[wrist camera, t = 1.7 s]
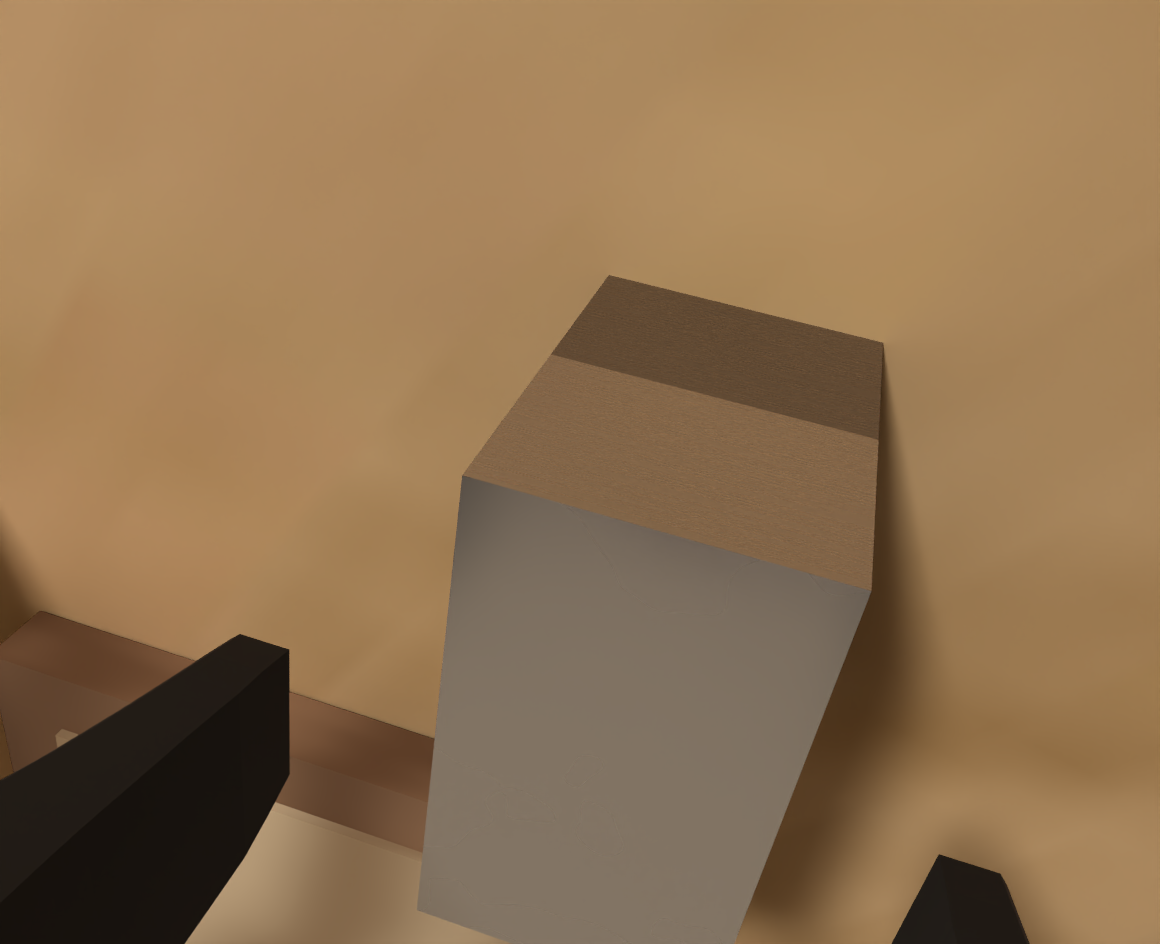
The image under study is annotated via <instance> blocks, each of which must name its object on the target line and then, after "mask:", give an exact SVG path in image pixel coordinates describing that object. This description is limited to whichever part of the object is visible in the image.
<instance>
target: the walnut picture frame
mask: <svg viewBox="0 0 1160 944" xmlns="http://www.w3.org/2000/svg"><path fill="white" fill-rule="evenodd" d="M194 662H195V661H193V660H190V659H187V658H184V657H181V656H177V655H174V654H171V653H168V652H165V651H162V650H159V649H156V648H153V647H150V646H147V645H144V644H141V643H138V642H134V641H131V640H128V639H125V638H122V637H119V636H116V635H113V634H110V633H107V632H104V631H101V630H98V629H95V628H92V627H88V626H85V625H82V624H79V623H76V622H73V621H70V620H67V619H64V618H61V617H58V616H55V615H52V614H49V613H45V612H42V611H39V612H38V613H37V614H36V615H35V616H33V617H32V618H31V619H30V620H29V621H27V622H26V623H25V624H24V625H23V626H22V627H20V628H19V629H18V630H17V631H16V632H15V633H13V634H12V635H11V636H10V637H9V638H8V639H6V640H5V641H4V642H3V643H2V644H1V645H0V712H1V716H2V721H3V726H4V730H5V735H6V740H7V744H8V749H9V754H10V758H11V763H12V767H13V772H16V771H18V770H20V769H21V768H23V767H25V766H27V765H29V764H30V763H32V762H34V761H36V760H37V759H39V758H41V757H43V756H44V755H46V754H48V753H49V752H51V751H53V750H55V749H56V748H58V747H60V746H61V745H63V744H64V743H66V742H68V741H69V740H71V739H73V738H74V737H76V736H78V735H79V734H81V733H83V732H84V731H86V730H87V729H89V728H91V727H92V726H94V725H96V724H97V723H99V722H101V721H102V720H104V719H106V718H107V717H109V716H110V715H112V714H114V713H115V712H117V711H119V710H120V709H122V708H123V707H125V706H127V705H128V704H130V703H131V702H133V701H135V700H136V699H138V698H139V697H141V696H142V695H144V694H146V693H147V692H149V691H150V690H152V689H153V688H155V687H157V686H158V685H160V684H161V683H163V682H164V681H166V680H167V679H169V678H171V677H172V676H174V675H175V674H177V673H178V672H180V671H181V670H183V669H185V668H186V667H188V666H189V665H191V664H192V663H194ZM289 714H290V775H289V777H288V779H287V780H286V782H285V784H284V786H283V788H282V790H281V792H280V794H279V796H278V798H277V800H276V801H275V803H274V805H273V807H272V809H271V811H270V813H269V815H268V817H267V819H266V820H265V822H264V824H263V826H262V828H261V829H260V831H259V833H258V835H257V837H256V838H255V840H254V842H253V844H252V845H251V847H250V849H249V851H248V853H247V854H246V856H245V858H244V859H243V861H242V862H241V864H240V865H239V867H238V868H237V869H236V871H235V872H234V874H233V875H232V877H231V878H230V880H229V881H228V883H227V884H226V885H225V887H224V888H223V890H222V891H221V893H220V894H219V896H218V897H217V898H216V900H215V901H214V903H213V904H212V906H211V907H210V908H209V910H208V911H207V913H206V914H205V916H204V917H203V919H202V920H201V921H200V923H199V924H198V926H197V927H196V929H195V930H194V931H193V933H192V934H191V936H190V937H189V938H188V940H187V941H186V943H185V944H511V943H509V942H506V941H503V940H500V939H497V938H494V937H492V936H489V935H486V934H483V933H480V932H477V931H475V930H472V929H469V928H466V927H463V926H460V925H457V924H455V923H452V922H449V921H446V920H443V919H440V918H438V917H435V916H432V915H429V914H426V913H423V912H421V911H418V910H417V902H418V893H419V883H420V874H421V864H422V855H423V845H424V836H425V826H426V817H427V807H428V798H429V788H430V779H431V769H432V760H433V750H434V741H435V739H432V738H429V737H426V736H423V735H420V734H417V733H414V732H411V731H408V730H405V729H402V728H399V727H395V726H392V725H389V724H386V723H383V722H380V721H377V720H374V719H371V718H368V717H365V716H362V715H359V714H356V713H352V712H349V711H346V710H343V709H340V708H337V707H334V706H331V705H328V704H325V703H322V702H319V701H316V700H313V699H310V698H306V697H303V696H300V695H297V694H294V693H291V692H289Z"/></svg>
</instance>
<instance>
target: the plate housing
mask: <svg viewBox="0 0 1160 944" xmlns="http://www.w3.org/2000/svg"><path fill="white" fill-rule="evenodd" d="M882 356H883V343H882V342H878V341H873V340H869V339H865V338H861V337H857V336H853V335H849V334H845V333H841V332H837V331H833V330H829V329H825V328H821V327H817V326H813V325H809V324H805V323H801V322H797V321H793V320H789V319H785V318H780V317H776V316H772V315H768V314H764V313H760V312H756V311H752V310H748V309H744V308H740V307H736V306H732V305H728V304H724V303H720V302H716V301H712V300H708V299H704V298H700V297H696V296H691V295H687V294H683V293H679V292H675V291H671V290H667V289H663V288H659V287H655V286H651V285H647V284H643V283H639V282H635V281H631V280H627V279H623V278H619V277H615V276H611V275H609V276H608V277H607V279H606V280H605V281H604V283H603V284H602V285H601V287H600V288H599V289H598V291H597V292H596V294H595V295H594V296H593V298H592V299H591V300H590V302H589V303H588V305H587V306H586V307H585V309H584V310H583V311H582V313H581V314H580V315H579V317H578V318H577V320H576V321H575V322H574V324H573V325H572V326H571V328H570V329H569V330H568V332H567V333H566V335H565V336H564V337H563V339H562V340H561V341H560V343H559V344H558V345H557V347H556V348H555V350H554V351H553V352H552V354H551V355H550V356H549V358H548V359H547V360H546V362H545V363H544V365H543V366H542V367H541V369H540V370H539V371H538V373H537V374H536V375H535V377H534V378H533V380H532V381H531V382H530V384H529V385H528V386H527V388H526V389H525V390H524V392H523V393H522V395H521V396H520V397H519V399H518V400H517V401H516V403H515V404H514V406H513V407H512V408H511V410H510V411H509V412H508V414H507V415H506V416H505V418H504V419H503V421H502V422H501V423H500V425H499V426H498V427H497V429H496V430H495V431H494V433H493V434H492V436H491V437H490V438H489V440H488V441H487V442H486V444H485V445H484V446H483V448H482V449H481V451H480V452H479V453H478V455H477V456H476V457H475V459H474V460H473V461H472V463H471V464H470V466H469V467H468V468H467V470H466V471H465V472H464V474H463V475H462V484H461V493H460V503H459V512H458V522H457V531H456V541H455V550H454V560H453V569H452V579H451V588H450V598H449V607H448V617H447V626H446V636H445V645H444V655H443V664H442V674H441V684H440V693H439V703H438V712H437V722H436V731H435V741H434V750H433V760H432V769H431V779H430V788H429V798H428V807H427V817H426V826H425V836H424V845H423V855H422V864H421V874H420V883H419V893H418V902H417V910H418V911H421V912H423V913H426V914H429V915H432V916H435V917H438V918H440V919H443V920H446V921H449V922H452V923H455V924H457V925H460V926H463V927H466V928H469V929H472V930H475V931H477V932H480V933H483V934H486V935H489V936H492V937H494V938H497V939H500V940H503V941H506V942H509V943H511V944H734V943H735V940H736V938H737V935H738V932H739V930H740V927H741V925H742V922H743V920H744V917H745V914H746V912H747V909H748V907H749V904H750V902H751V899H752V896H753V894H754V891H755V889H756V886H757V884H758V881H759V879H760V876H761V873H762V871H763V868H764V866H765V863H766V861H767V858H768V855H769V853H770V850H771V848H772V845H773V843H774V840H775V837H776V835H777V832H778V830H779V827H780V825H781V822H782V819H783V817H784V814H785V812H786V809H787V807H788V804H789V802H790V799H791V796H792V794H793V791H794V789H795V786H796V784H797V781H798V778H799V776H800V773H801V771H802V768H803V766H804V763H805V760H806V758H807V755H808V753H809V750H810V748H811V745H812V742H813V740H814V737H815V735H816V732H817V730H818V727H819V724H820V722H821V719H822V717H823V714H824V712H825V709H826V707H827V704H828V701H829V699H830V696H831V694H832V691H833V689H834V686H835V683H836V681H837V678H838V676H839V673H840V671H841V668H842V665H843V663H844V660H845V658H846V655H847V653H848V650H849V647H850V645H851V642H852V640H853V637H854V635H855V632H856V630H857V627H858V624H859V622H860V619H861V617H862V614H863V612H864V609H865V606H866V604H867V601H868V599H869V596H870V594H871V591H872V570H873V548H874V527H875V506H876V484H877V463H878V442H879V420H880V399H881V377H882Z"/></svg>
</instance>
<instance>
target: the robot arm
mask: <svg viewBox="0 0 1160 944" xmlns="http://www.w3.org/2000/svg"><path fill="white" fill-rule="evenodd" d="M289 775H290V714H289V649H286V648H282V647H279V646H276V645H273V644H270V643H266V642H263V641H260V640H257V639H254V638H251V637H247V636H244V635H241V634H239V635H237V636H236V637H234V638H232V639H230V640H228V641H227V642H225V643H224V644H222V645H221V646H219V647H217V648H216V649H214V650H213V651H211V652H209V653H208V654H206V655H205V656H203V657H202V658H200V659H199V660H197V661H195V662H194V663H192V664H191V665H189V666H188V667H186V668H185V669H183V670H181V671H180V672H178V673H177V674H175V675H174V676H172V677H171V678H169V679H167V680H166V681H164V682H163V683H161V684H160V685H158V686H157V687H155V688H153V689H152V690H150V691H149V692H147V693H146V694H144V695H142V696H141V697H139V698H138V699H136V700H135V701H133V702H131V703H130V704H128V705H127V706H125V707H123V708H122V709H120V710H119V711H117V712H115V713H114V714H112V715H110V716H109V717H107V718H106V719H104V720H102V721H101V722H99V723H97V724H96V725H94V726H92V727H91V728H89V729H87V730H86V731H84V732H83V733H81V734H79V735H78V736H76V737H74V738H73V739H71V740H69V741H68V742H66V743H64V744H63V745H61V746H60V747H58V748H56V749H55V750H53V751H51V752H49V753H48V754H46V755H44V756H43V757H41V758H39V759H37V760H36V761H34V762H32V763H30V764H29V765H27V766H25V767H23V768H21V769H20V770H18V771H16V772H14V773H12V774H11V775H9V776H7V777H5V778H3V779H2V780H0V944H185V943H186V941H187V940H188V938H189V937H190V936H191V934H192V933H193V931H194V930H195V929H196V927H197V926H198V924H199V923H200V921H201V920H202V919H203V917H204V916H205V914H206V913H207V911H208V910H209V908H210V907H211V906H212V904H213V903H214V901H215V900H216V898H217V897H218V896H219V894H220V893H221V891H222V890H223V888H224V887H225V885H226V884H227V883H228V881H229V880H230V878H231V877H232V875H233V874H234V872H235V871H236V869H237V868H238V867H239V865H240V864H241V862H242V861H243V859H244V858H245V856H246V854H247V853H248V851H249V849H250V847H251V845H252V844H253V842H254V840H255V838H256V837H257V835H258V833H259V831H260V829H261V828H262V826H263V824H264V822H265V820H266V819H267V817H268V815H269V813H270V811H271V809H272V807H273V805H274V803H275V801H276V800H277V798H278V796H279V794H280V792H281V790H282V788H283V786H284V784H285V782H286V780H287V779H288V777H289ZM892 944H1029V941H1028V939H1027V936H1026V934H1025V931H1024V928H1023V926H1022V923H1021V921H1020V918H1019V915H1018V913H1017V910H1016V908H1015V905H1014V903H1013V900H1012V897H1011V895H1010V892H1009V890H1008V887H1007V884H1006V883H1005V881H1004V879H1003V878H1002V876H1001V874H1000V873H996V872H993V871H990V870H987V869H984V868H981V867H977V866H974V865H971V864H968V863H965V862H962V861H958V860H955V859H952V858H949V857H946V856H943V855H938V857H937V859H936V861H935V863H934V865H933V867H932V868H931V870H930V872H929V874H928V876H927V878H926V880H925V882H924V884H923V885H922V887H921V889H920V891H919V893H918V895H917V897H916V899H915V901H914V902H913V904H912V906H911V908H910V910H909V912H908V914H907V916H906V918H905V919H904V921H903V923H902V925H901V927H900V929H899V931H898V933H897V935H896V936H895V938H894V940H893V942H892Z"/></svg>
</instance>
